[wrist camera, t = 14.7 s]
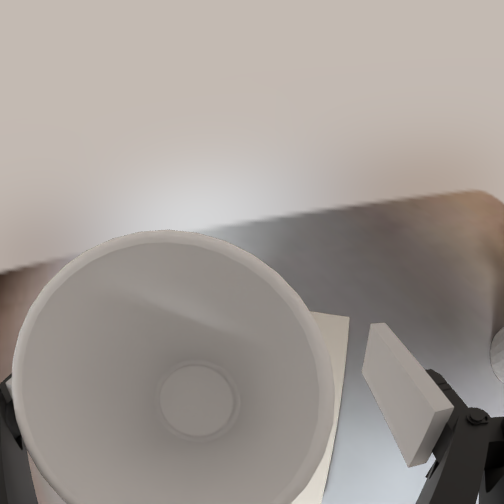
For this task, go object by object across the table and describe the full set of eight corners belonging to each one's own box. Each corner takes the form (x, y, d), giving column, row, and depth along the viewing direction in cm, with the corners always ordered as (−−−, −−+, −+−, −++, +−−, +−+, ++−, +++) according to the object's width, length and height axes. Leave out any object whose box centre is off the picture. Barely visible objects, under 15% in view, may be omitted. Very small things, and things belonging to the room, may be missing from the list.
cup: (127, 320, 19) (43, 227, 9) (277, 326, 19) (321, 231, 10) (118, 465, 14) (9, 498, 4) (279, 476, 15) (336, 545, 5)
